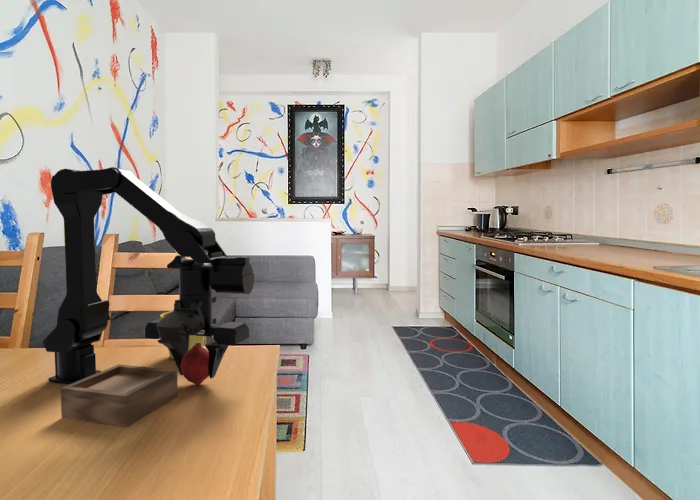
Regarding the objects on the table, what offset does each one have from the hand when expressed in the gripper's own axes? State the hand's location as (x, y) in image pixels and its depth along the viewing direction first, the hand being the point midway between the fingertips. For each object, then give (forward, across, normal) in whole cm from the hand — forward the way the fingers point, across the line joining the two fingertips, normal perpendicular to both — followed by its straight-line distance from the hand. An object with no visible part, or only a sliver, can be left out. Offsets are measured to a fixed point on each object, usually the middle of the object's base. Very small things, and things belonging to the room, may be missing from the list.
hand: (197, 376), depth 84 cm
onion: (+2, 0, 0) cm, 2 cm away
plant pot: (+2, -13, +15) cm, 20 cm away
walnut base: (+2, -6, -12) cm, 14 cm away
